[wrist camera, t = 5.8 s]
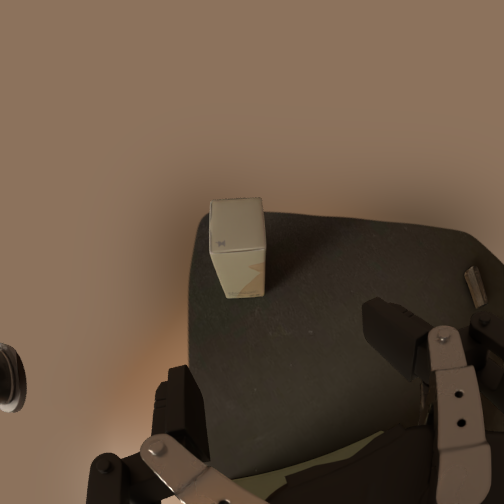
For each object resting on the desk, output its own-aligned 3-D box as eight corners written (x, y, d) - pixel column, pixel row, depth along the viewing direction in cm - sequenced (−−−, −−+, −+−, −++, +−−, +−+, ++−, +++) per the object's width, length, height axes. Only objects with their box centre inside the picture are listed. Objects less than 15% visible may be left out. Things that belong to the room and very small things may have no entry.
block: (472, 311, 27) (479, 307, 26) (460, 271, 30) (467, 266, 28) (485, 305, 27) (493, 301, 26) (474, 267, 30) (481, 262, 28)
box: (264, 296, 29) (267, 253, 20) (225, 299, 29) (207, 257, 20) (261, 253, 32) (262, 194, 22) (224, 255, 32) (209, 198, 22)
